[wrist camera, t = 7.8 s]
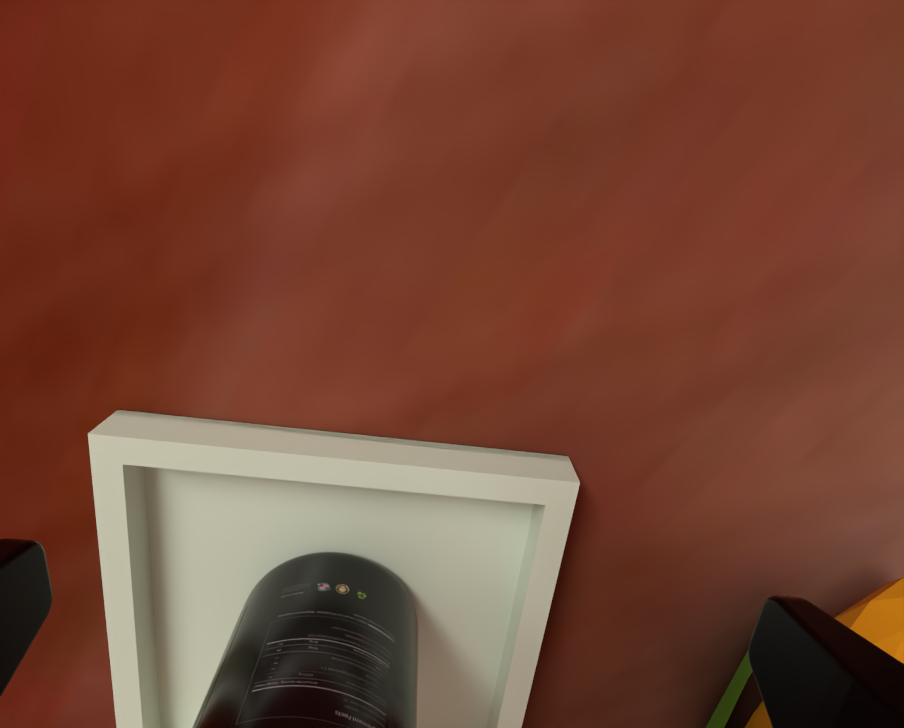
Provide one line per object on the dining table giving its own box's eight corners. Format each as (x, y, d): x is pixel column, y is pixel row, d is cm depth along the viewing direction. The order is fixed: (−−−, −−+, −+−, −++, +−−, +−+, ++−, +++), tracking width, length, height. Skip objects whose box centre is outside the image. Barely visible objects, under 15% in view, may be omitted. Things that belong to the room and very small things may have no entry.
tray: (568, 456, 21) (580, 482, 19) (499, 759, 26) (503, 801, 24) (117, 409, 20) (87, 433, 18) (143, 737, 25) (121, 779, 23)
